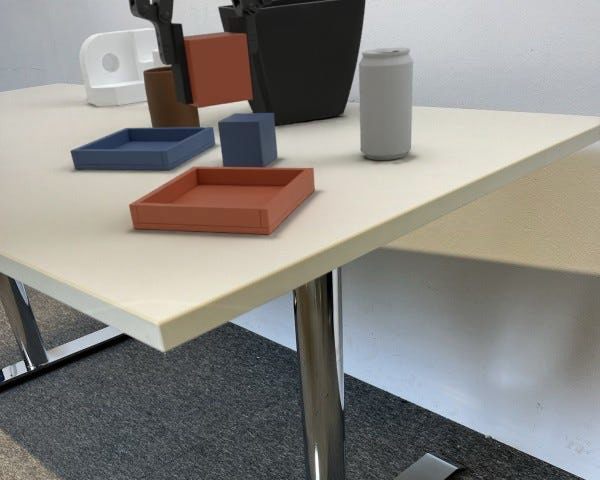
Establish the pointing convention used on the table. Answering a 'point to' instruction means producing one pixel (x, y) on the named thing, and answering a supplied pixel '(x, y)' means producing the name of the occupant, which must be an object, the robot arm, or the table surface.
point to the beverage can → (385, 103)
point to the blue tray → (144, 148)
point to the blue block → (248, 139)
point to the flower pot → (303, 57)
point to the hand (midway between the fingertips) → (215, 97)
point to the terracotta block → (218, 68)
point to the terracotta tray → (224, 200)
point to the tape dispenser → (117, 66)
